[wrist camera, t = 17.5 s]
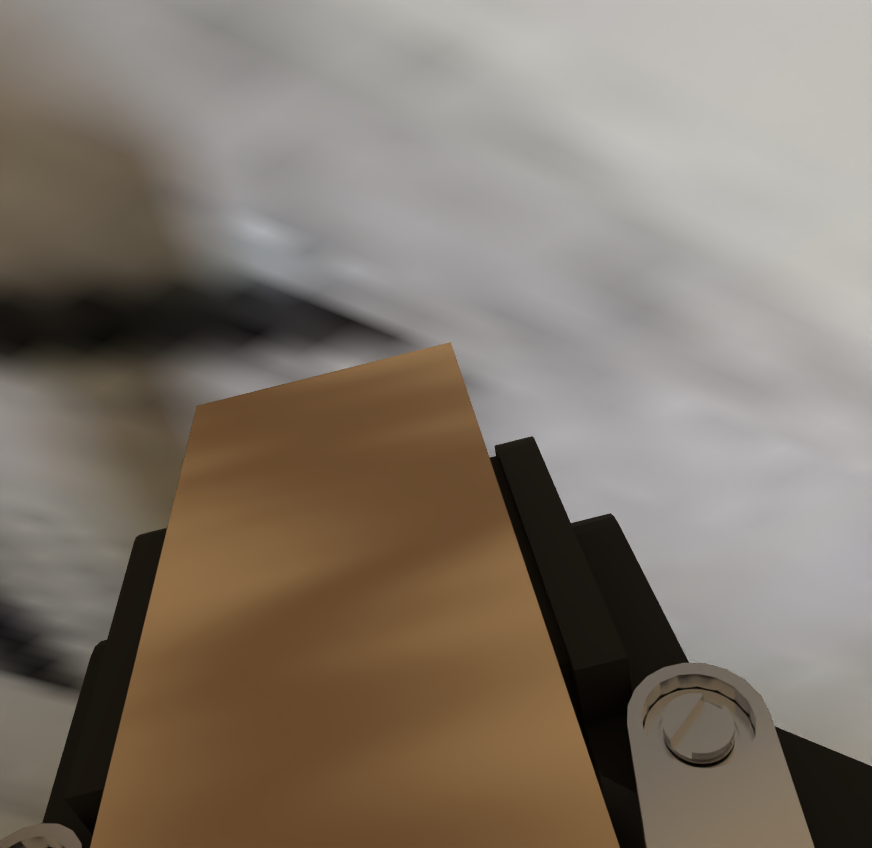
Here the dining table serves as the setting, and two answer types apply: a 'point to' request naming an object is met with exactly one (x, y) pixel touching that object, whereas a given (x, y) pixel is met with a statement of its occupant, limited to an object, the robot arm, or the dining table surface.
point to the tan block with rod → (347, 637)
